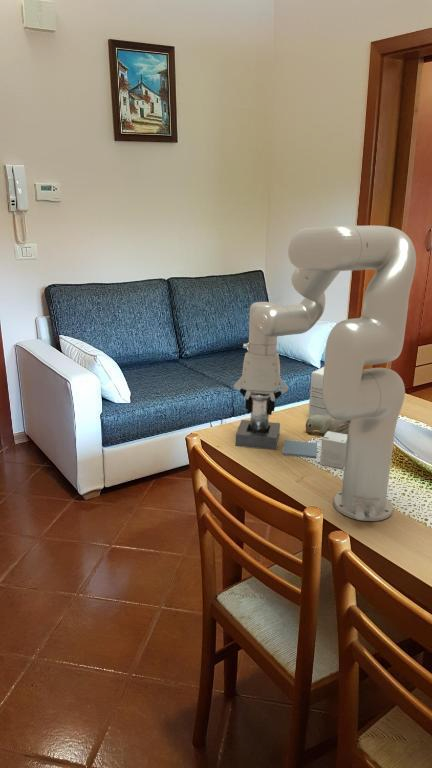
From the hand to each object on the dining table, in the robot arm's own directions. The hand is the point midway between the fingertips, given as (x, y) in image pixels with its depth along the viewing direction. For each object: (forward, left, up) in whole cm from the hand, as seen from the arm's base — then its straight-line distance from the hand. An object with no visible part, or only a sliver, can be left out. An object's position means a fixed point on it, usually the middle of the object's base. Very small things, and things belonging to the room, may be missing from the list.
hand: (259, 411), depth 155 cm
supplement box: (+24, -19, -9) cm, 32 cm away
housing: (0, 0, -9) cm, 9 cm away
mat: (-4, -12, -9) cm, 15 cm away
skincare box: (-10, -21, -9) cm, 25 cm away
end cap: (0, 0, -4) cm, 4 cm away
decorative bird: (+9, -21, -9) cm, 24 cm away
